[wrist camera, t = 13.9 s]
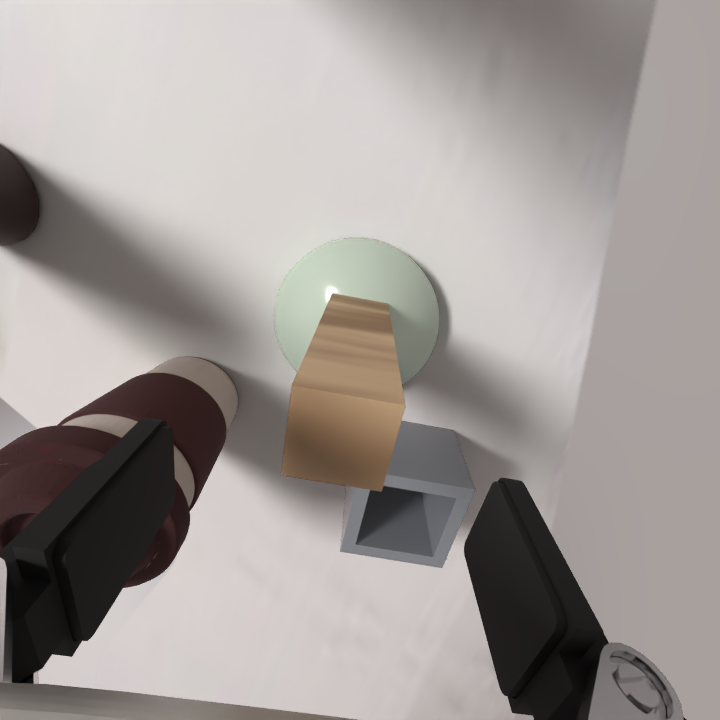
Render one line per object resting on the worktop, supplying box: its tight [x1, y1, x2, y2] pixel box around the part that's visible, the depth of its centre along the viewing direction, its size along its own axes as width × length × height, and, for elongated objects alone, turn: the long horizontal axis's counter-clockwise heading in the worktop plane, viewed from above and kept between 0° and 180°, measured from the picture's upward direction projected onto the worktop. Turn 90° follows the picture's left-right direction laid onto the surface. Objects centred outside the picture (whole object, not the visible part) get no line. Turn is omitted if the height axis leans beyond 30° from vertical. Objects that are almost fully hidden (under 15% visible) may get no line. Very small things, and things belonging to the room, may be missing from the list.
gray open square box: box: [340, 421, 475, 568], centre depth 29 cm, size 8×8×7 cm
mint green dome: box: [274, 238, 440, 385], centre depth 27 cm, size 12×12×1 cm
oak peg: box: [281, 293, 405, 492], centre depth 20 cm, size 4×4×14 cm
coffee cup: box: [0, 357, 238, 588], centre depth 23 cm, size 10×10×15 cm
